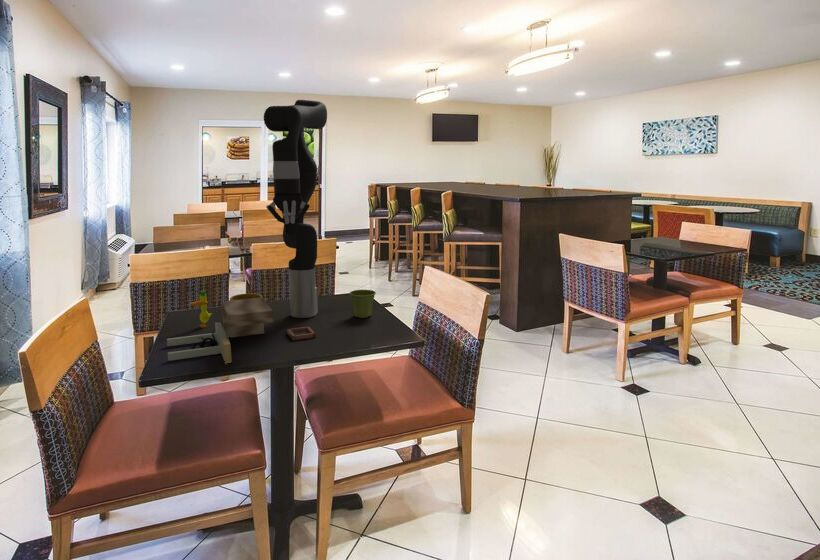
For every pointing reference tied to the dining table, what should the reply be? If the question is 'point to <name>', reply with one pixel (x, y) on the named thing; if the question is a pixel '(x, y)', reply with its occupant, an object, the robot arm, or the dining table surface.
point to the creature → (213, 343)
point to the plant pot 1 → (245, 296)
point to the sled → (222, 348)
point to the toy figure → (202, 308)
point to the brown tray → (301, 333)
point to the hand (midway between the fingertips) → (289, 236)
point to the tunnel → (245, 316)
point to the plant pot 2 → (362, 302)
